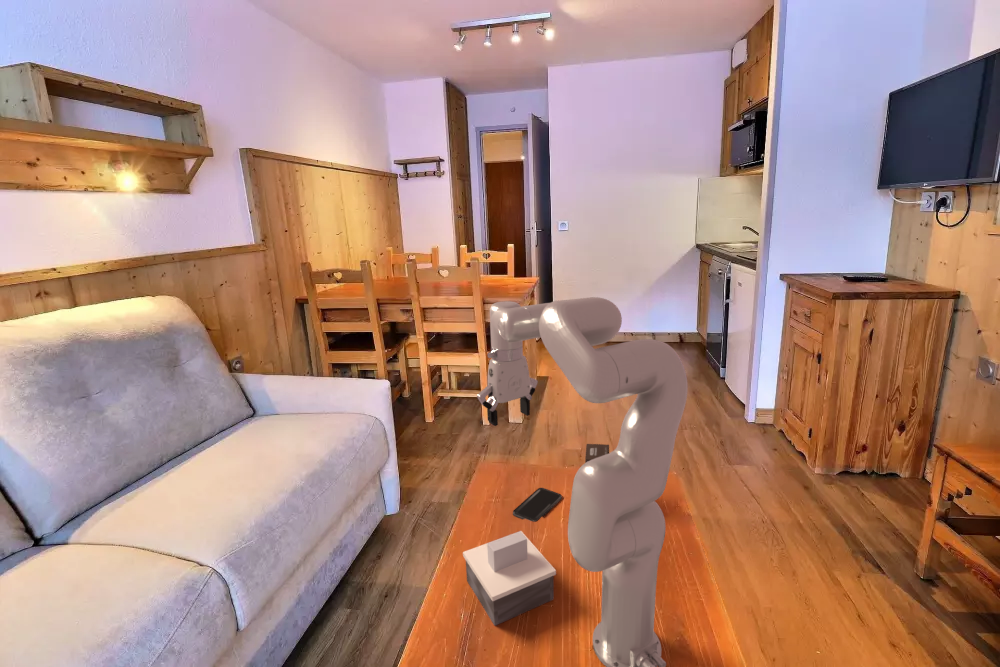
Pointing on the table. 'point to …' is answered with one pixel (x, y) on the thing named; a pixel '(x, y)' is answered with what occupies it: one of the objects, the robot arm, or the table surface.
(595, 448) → the coffee box
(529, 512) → the phone
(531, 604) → the box
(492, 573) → the lid
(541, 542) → the table surface
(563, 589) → the table surface
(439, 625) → the table surface
